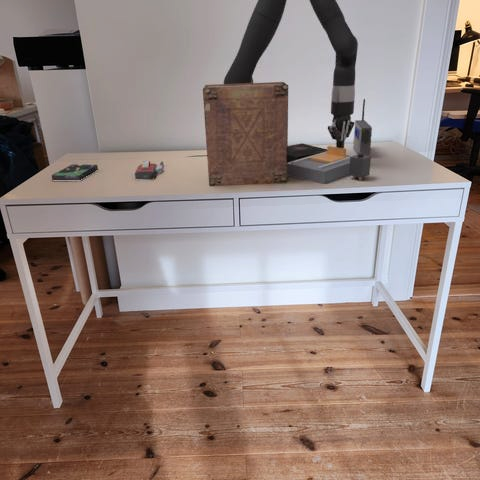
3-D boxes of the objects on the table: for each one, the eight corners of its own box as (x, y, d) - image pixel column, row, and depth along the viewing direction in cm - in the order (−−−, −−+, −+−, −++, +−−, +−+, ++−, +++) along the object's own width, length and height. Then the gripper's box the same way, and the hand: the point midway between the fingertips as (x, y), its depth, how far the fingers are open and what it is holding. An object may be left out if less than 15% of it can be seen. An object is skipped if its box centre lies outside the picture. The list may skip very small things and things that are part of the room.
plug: (348, 178, 142) (350, 153, 139) (356, 175, 145) (358, 150, 142) (361, 181, 139) (363, 155, 136) (369, 178, 142) (371, 152, 139)
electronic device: (352, 148, 181) (356, 98, 173) (369, 148, 181) (373, 97, 172) (359, 159, 166) (363, 104, 157) (377, 158, 165) (382, 103, 157)
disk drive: (73, 171, 166) (52, 182, 152) (71, 164, 165) (50, 174, 151) (98, 171, 164) (80, 182, 151) (97, 164, 163) (78, 174, 150)
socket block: (285, 174, 149) (285, 160, 147) (325, 162, 163) (325, 149, 161) (323, 183, 138) (324, 169, 136) (362, 169, 152) (363, 155, 150)
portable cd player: (300, 152, 180) (300, 143, 178) (330, 160, 167) (330, 150, 165) (268, 159, 172) (268, 149, 170) (296, 168, 158) (296, 157, 157)
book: (208, 186, 141) (201, 87, 128) (209, 178, 149) (203, 84, 137) (287, 183, 141) (288, 84, 128) (284, 175, 149) (285, 81, 137)
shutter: (309, 159, 150) (309, 150, 149) (326, 154, 156) (327, 145, 155) (331, 164, 144) (331, 154, 143) (348, 158, 150) (348, 149, 149)
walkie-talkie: (160, 180, 150) (165, 165, 168) (158, 168, 148) (164, 154, 166) (134, 182, 149) (142, 166, 167) (132, 169, 147) (140, 155, 166)
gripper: (344, 96, 153) (341, 146, 160) (321, 101, 145) (319, 153, 152) (363, 98, 148) (359, 149, 155) (340, 102, 140) (337, 156, 147)
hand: (339, 151), depth 154 cm, fingers closed
